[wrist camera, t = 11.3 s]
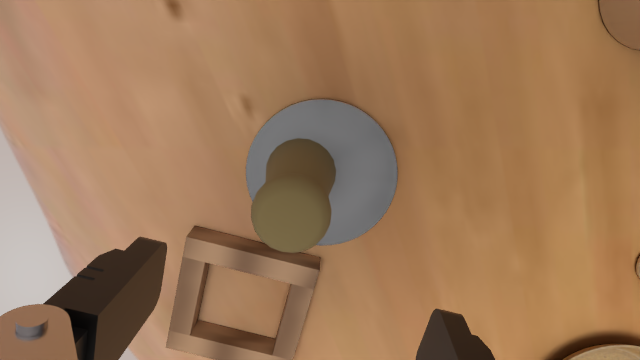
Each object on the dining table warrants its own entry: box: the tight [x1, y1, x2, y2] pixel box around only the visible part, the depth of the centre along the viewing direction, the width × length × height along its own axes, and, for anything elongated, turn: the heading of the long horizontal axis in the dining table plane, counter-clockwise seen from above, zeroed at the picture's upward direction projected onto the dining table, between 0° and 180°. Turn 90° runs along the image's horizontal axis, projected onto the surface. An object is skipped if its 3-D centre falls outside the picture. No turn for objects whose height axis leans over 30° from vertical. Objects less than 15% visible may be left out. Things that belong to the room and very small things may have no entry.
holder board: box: [166, 226, 320, 360], centre depth 40 cm, size 12×12×2 cm
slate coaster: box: [246, 99, 397, 245], centre depth 37 cm, size 13×13×1 cm
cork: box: [251, 138, 336, 253], centre depth 31 cm, size 6×6×11 cm
